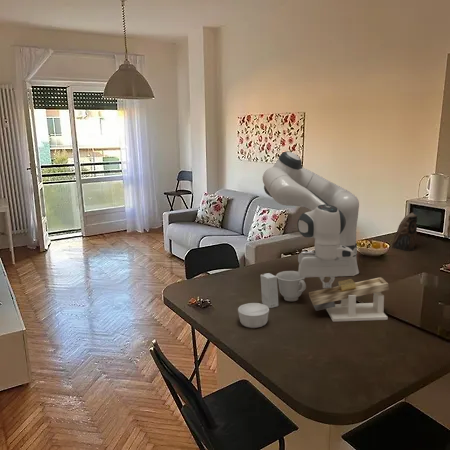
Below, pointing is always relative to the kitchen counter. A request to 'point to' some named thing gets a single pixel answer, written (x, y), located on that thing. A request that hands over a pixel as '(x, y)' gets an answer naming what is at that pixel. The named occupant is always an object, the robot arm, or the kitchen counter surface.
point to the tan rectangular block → (346, 285)
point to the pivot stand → (358, 309)
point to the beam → (346, 292)
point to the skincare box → (269, 290)
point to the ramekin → (253, 314)
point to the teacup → (291, 284)
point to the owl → (406, 233)
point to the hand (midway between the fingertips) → (326, 287)
